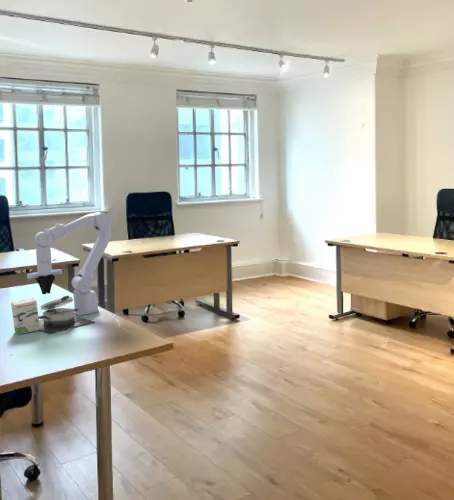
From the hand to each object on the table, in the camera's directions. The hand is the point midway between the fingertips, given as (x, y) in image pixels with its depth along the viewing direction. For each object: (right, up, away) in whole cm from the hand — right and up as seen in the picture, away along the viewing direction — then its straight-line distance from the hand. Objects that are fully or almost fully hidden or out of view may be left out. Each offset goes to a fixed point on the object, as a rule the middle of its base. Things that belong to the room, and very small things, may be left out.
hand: (46, 293), depth 240 cm
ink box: (-2, -13, -18) cm, 22 cm away
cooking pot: (+8, -11, -8) cm, 16 cm away
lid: (+8, -4, -9) cm, 13 cm away
